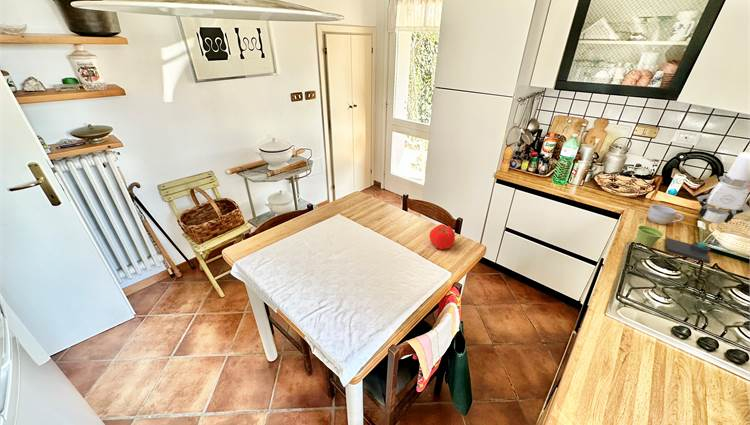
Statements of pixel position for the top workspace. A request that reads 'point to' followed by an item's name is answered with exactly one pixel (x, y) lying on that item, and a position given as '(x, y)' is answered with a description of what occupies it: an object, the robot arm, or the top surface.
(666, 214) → the teacup
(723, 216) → the bowl
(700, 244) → the tare button
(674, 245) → the scale
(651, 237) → the plant pot
